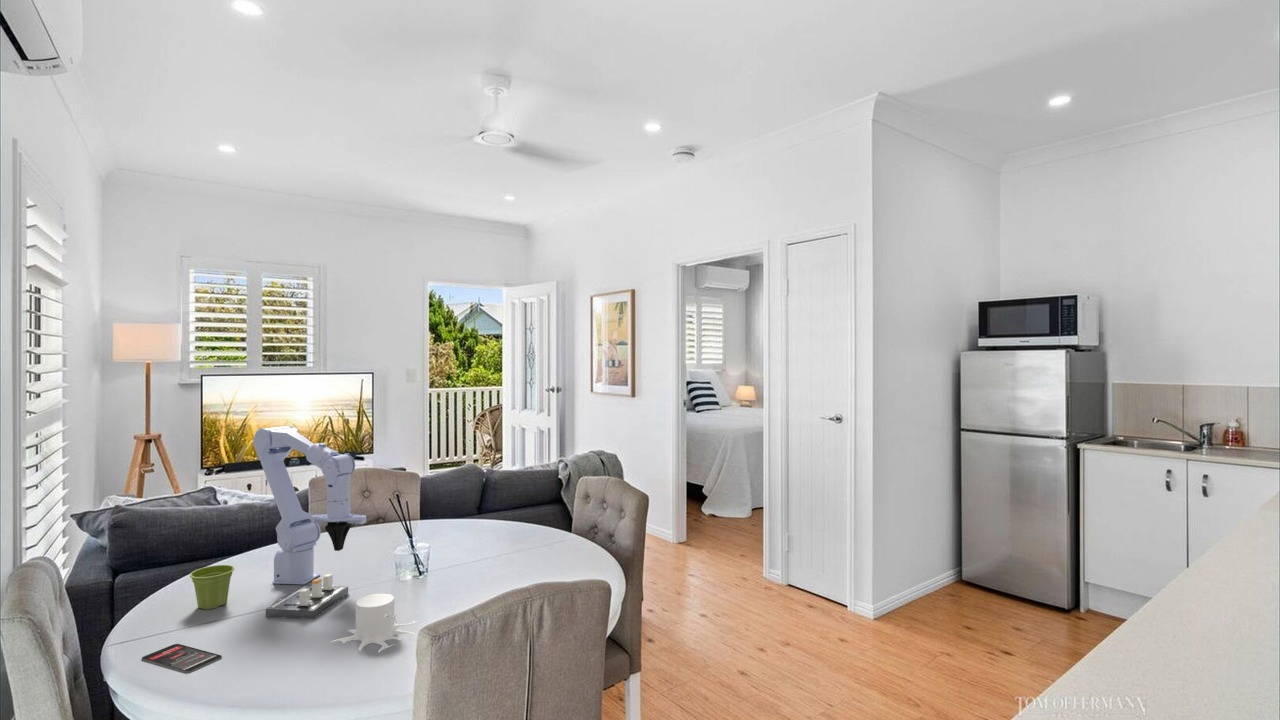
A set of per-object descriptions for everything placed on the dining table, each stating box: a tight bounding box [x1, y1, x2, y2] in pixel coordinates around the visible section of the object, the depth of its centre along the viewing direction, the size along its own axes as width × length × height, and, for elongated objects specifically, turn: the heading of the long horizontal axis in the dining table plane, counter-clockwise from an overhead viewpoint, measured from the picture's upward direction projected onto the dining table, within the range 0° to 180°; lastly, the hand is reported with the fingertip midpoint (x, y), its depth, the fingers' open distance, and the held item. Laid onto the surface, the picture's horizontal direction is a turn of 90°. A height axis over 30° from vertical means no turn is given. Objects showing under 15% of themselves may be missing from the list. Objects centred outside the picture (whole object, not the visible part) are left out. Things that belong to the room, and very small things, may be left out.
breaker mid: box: [310, 578, 325, 598], centre depth 161 cm, size 3×2×4 cm
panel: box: [265, 584, 349, 619], centre depth 161 cm, size 12×16×2 cm
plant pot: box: [189, 564, 235, 610], centre depth 161 cm, size 9×9×9 cm
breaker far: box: [322, 573, 336, 590], centre depth 166 cm, size 3×2×3 cm
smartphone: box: [141, 643, 223, 674], centre depth 133 cm, size 7×1×15 cm
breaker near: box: [296, 589, 313, 606], centre depth 156 cm, size 3×2×3 cm
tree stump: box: [330, 593, 426, 653], centre depth 146 cm, size 20×19×8 cm
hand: (338, 549), depth 173 cm, fingers closed
